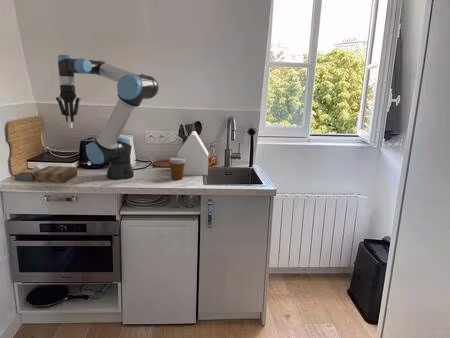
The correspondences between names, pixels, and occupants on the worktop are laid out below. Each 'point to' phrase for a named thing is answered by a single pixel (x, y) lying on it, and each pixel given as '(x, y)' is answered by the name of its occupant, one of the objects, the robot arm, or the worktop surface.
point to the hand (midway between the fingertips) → (70, 127)
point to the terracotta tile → (27, 173)
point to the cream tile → (37, 168)
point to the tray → (24, 177)
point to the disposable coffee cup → (177, 167)
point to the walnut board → (55, 174)
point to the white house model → (194, 156)
